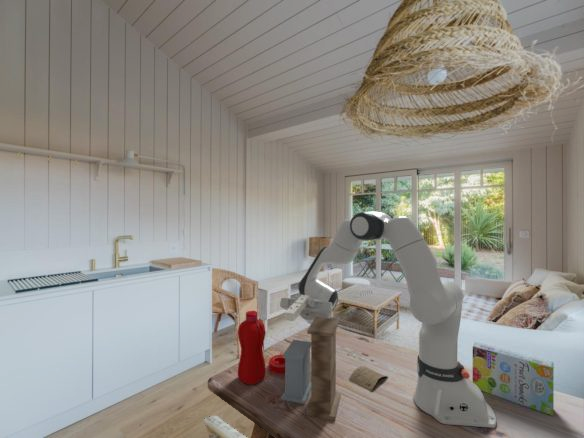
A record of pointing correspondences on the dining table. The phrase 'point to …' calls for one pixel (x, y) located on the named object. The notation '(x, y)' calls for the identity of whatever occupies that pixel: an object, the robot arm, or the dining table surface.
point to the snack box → (514, 377)
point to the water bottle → (251, 349)
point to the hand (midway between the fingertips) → (301, 301)
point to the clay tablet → (365, 378)
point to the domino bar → (296, 308)
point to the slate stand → (297, 372)
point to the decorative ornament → (277, 364)
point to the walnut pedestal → (323, 369)
